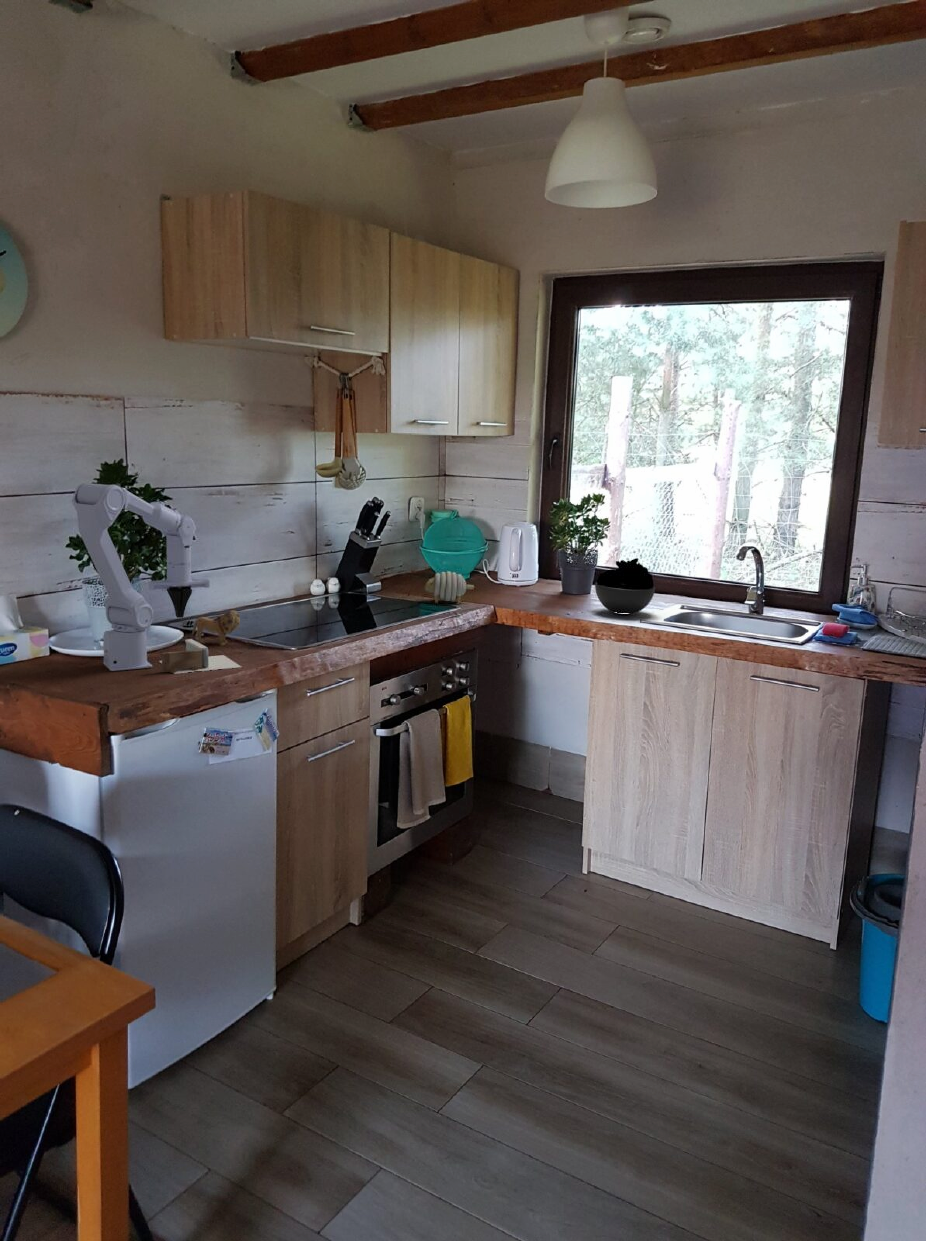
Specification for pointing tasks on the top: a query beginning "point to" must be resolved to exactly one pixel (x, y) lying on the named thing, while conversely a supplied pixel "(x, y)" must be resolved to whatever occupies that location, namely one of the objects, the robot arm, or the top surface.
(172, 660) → the brown wooden block
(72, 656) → the top surface
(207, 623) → the lion figurine
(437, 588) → the toy sheep
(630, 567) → the bowl of black rocks
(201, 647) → the pale green long block
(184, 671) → the card
